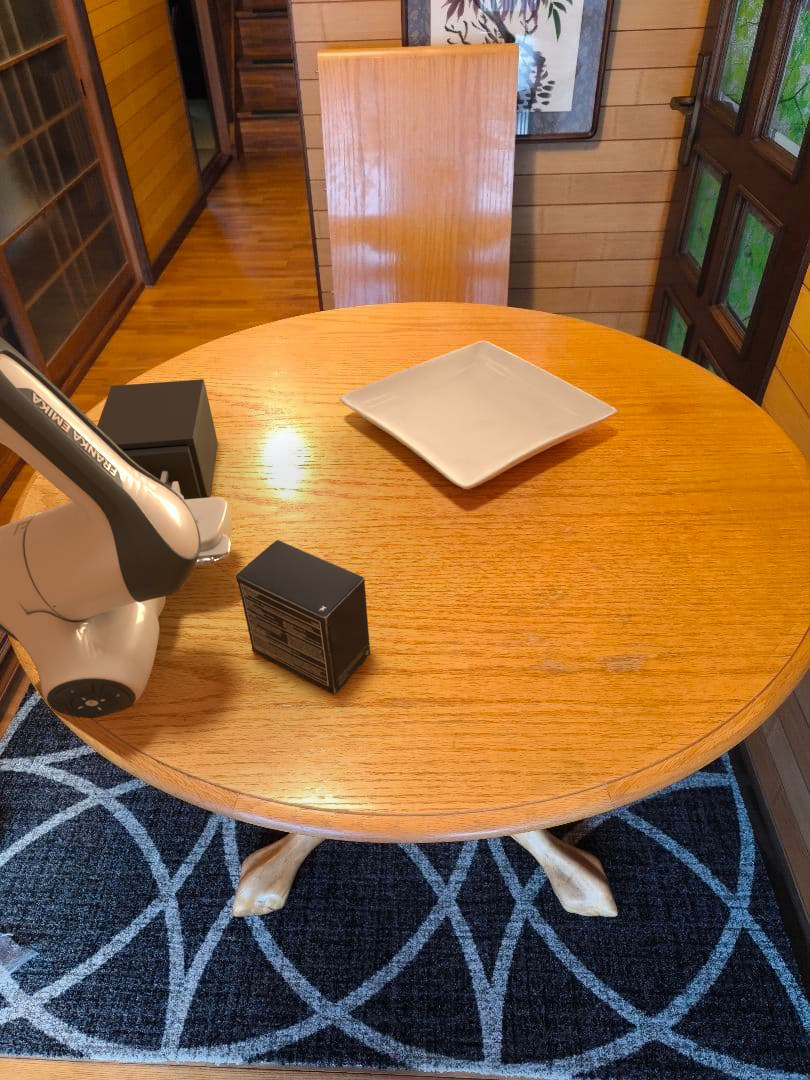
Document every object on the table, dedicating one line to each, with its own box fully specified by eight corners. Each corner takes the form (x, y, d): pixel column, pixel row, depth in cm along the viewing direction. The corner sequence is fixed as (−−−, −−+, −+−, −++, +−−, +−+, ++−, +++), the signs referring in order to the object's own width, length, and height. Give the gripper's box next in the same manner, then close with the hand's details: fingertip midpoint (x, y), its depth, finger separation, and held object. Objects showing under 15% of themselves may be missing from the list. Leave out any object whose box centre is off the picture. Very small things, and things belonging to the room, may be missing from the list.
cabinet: (209, 503, 93) (193, 438, 87) (112, 511, 93) (89, 446, 86) (217, 441, 104) (203, 378, 97) (130, 448, 103) (111, 385, 96)
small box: (374, 651, 75) (369, 575, 68) (335, 697, 71) (325, 621, 64) (291, 610, 80) (277, 534, 73) (249, 651, 76) (231, 575, 69)
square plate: (617, 432, 103) (621, 407, 101) (463, 512, 91) (464, 487, 88) (483, 357, 120) (484, 334, 117) (337, 417, 107) (335, 393, 105)
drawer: (198, 529, 88) (183, 475, 83) (106, 537, 88) (86, 483, 83) (210, 446, 101) (198, 394, 96) (130, 452, 101) (114, 400, 95)
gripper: (223, 540, 74) (231, 458, 85) (7, 559, 73) (42, 473, 83) (234, 586, 79) (241, 502, 89) (30, 604, 77) (61, 517, 87)
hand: (143, 488), depth 86 cm, fingers closed on drawer, 5 cm apart
